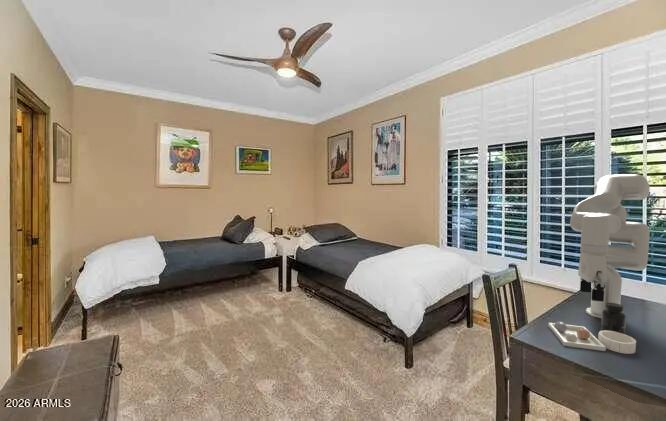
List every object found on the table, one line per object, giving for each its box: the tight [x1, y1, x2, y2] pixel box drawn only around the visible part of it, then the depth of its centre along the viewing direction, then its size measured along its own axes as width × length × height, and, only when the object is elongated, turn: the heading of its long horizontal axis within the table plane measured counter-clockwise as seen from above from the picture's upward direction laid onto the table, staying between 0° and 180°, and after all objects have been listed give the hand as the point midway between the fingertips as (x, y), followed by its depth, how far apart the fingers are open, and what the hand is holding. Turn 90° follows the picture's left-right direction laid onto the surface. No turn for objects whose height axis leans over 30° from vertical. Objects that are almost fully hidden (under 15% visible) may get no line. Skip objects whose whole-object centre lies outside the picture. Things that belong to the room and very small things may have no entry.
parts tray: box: [548, 322, 607, 352], centre depth 114 cm, size 16×12×2 cm
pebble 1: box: [554, 320, 567, 332], centre depth 119 cm, size 4×4×4 cm
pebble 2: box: [565, 333, 577, 342], centre depth 110 cm, size 3×3×3 cm
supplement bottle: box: [600, 302, 627, 335], centre depth 117 cm, size 7×7×12 cm
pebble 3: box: [577, 328, 590, 339], centre depth 113 cm, size 4×4×4 cm
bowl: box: [597, 330, 637, 355], centre depth 108 cm, size 10×10×4 cm
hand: (591, 296), depth 110 cm, fingers open, 9 cm apart
